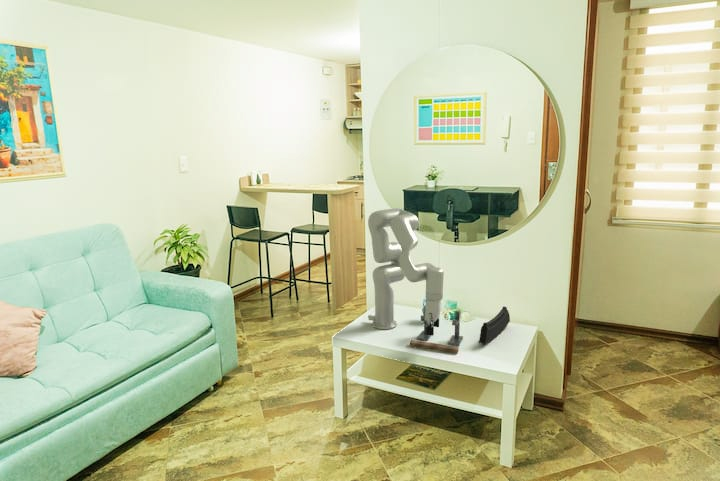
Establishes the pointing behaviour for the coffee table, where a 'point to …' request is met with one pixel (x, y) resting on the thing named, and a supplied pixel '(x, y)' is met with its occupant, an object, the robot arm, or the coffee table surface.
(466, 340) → the coffee table surface
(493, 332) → the magazine
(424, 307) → the chair
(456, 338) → the hook stand
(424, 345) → the rail
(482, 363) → the coffee table surface
